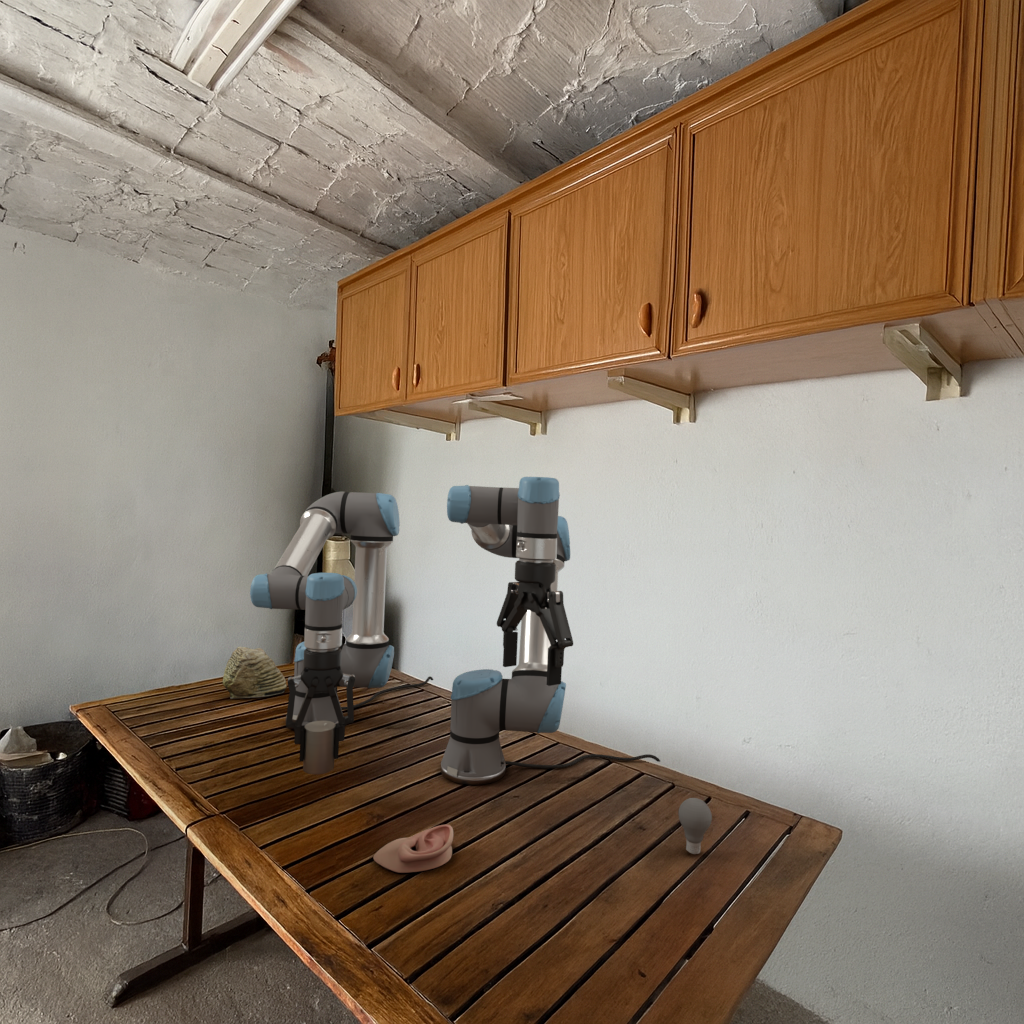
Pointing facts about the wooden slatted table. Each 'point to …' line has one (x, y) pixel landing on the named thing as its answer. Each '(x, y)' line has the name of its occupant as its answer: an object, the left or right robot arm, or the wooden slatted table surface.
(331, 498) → the left robot arm
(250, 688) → the fossil
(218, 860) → the wooden slatted table surface
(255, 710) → the wooden slatted table surface
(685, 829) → the light bulb
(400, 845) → the anatomical model
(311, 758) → the can
